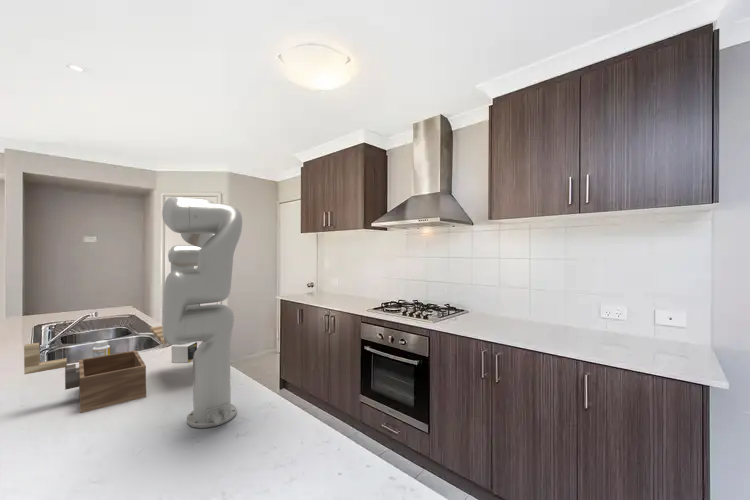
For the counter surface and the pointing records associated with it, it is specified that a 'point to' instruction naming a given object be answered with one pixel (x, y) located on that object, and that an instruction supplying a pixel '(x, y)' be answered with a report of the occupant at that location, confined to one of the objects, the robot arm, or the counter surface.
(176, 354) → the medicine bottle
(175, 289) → the robot arm
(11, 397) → the counter surface
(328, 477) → the counter surface
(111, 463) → the counter surface
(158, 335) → the lid
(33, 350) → the bent tan strip
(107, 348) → the supplement bottle
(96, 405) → the brown wooden box
